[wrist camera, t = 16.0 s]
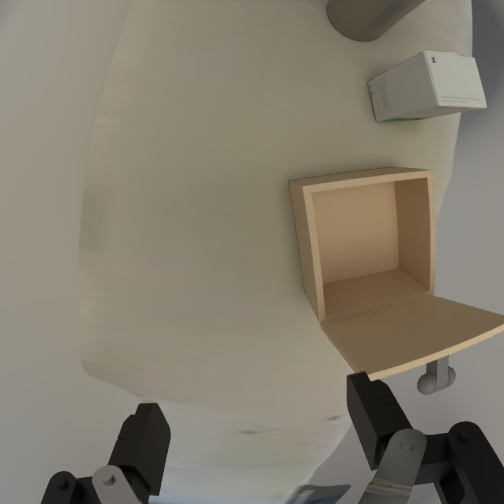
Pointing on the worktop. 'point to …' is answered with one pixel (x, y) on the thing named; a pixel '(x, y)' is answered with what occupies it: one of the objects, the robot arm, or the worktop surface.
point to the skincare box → (427, 87)
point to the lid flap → (412, 338)
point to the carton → (365, 239)
